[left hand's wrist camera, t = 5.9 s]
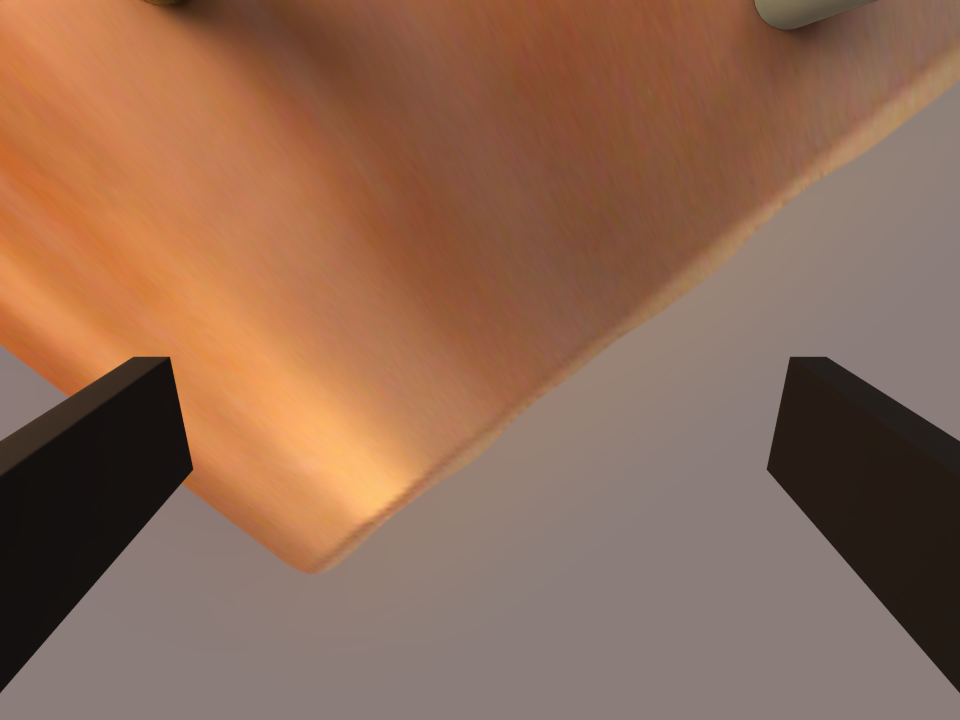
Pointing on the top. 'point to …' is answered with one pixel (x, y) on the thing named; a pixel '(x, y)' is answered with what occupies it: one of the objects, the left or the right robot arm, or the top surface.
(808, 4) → the screw-top jar
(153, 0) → the soda can
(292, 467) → the top surface
